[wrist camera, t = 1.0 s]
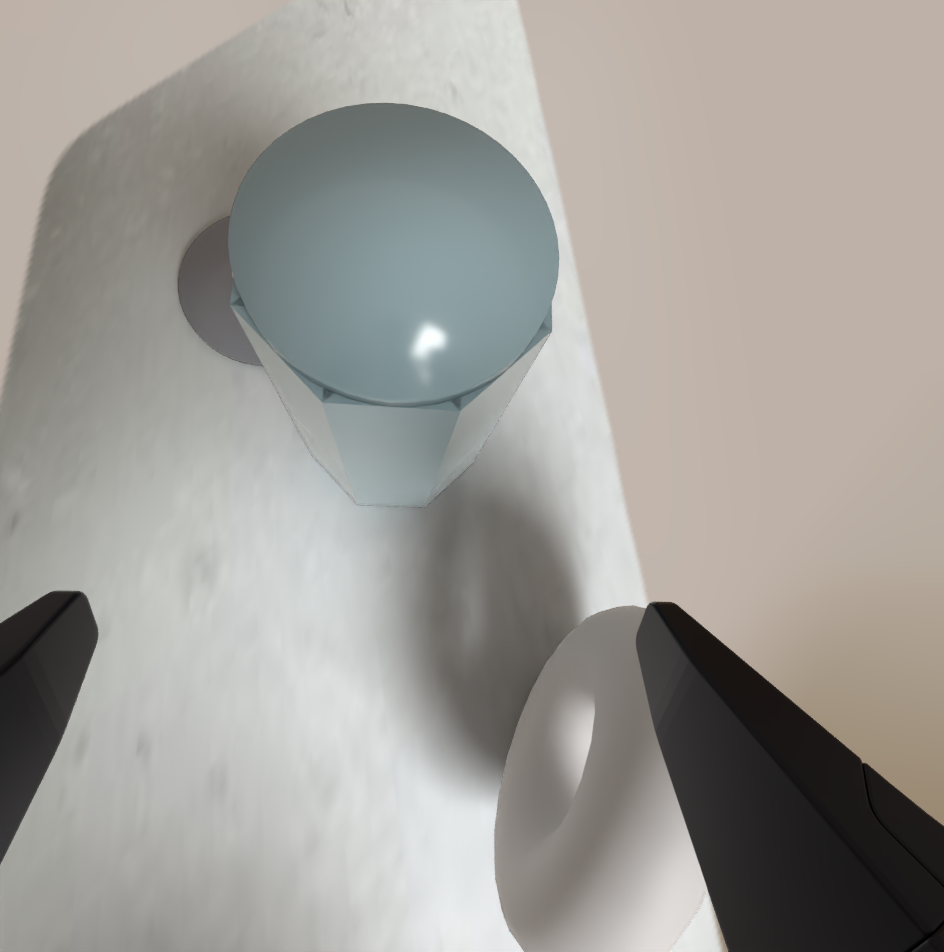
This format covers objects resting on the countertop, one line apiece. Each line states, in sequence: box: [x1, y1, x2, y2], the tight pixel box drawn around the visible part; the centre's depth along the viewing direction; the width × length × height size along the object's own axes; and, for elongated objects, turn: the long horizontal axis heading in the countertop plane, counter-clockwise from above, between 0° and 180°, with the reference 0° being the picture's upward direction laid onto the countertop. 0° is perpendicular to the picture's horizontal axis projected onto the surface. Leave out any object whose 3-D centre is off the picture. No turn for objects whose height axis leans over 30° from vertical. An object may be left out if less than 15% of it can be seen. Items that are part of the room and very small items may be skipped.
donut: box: [494, 606, 707, 952], centre depth 17 cm, size 10×3×10 cm, turn 157°
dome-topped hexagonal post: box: [228, 103, 559, 507], centre depth 17 cm, size 6×6×13 cm
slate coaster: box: [178, 216, 263, 366], centre depth 24 cm, size 7×7×1 cm
